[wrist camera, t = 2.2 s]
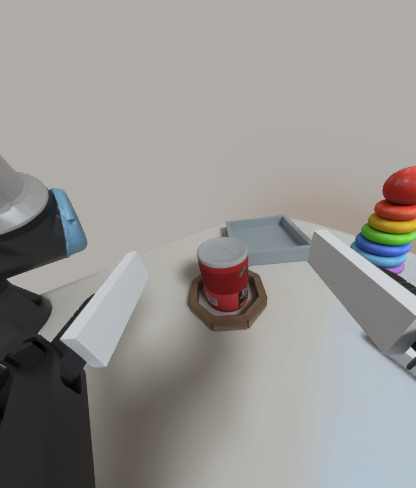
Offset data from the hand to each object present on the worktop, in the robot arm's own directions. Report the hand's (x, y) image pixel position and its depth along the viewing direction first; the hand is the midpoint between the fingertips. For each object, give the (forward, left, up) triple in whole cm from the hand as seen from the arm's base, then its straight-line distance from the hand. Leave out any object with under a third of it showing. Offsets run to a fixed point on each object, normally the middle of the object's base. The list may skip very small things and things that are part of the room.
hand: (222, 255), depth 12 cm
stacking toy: (+27, +14, -18) cm, 35 cm away
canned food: (0, +11, -18) cm, 21 cm away
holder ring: (0, +11, -18) cm, 21 cm away
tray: (+11, +28, -18) cm, 35 cm away
